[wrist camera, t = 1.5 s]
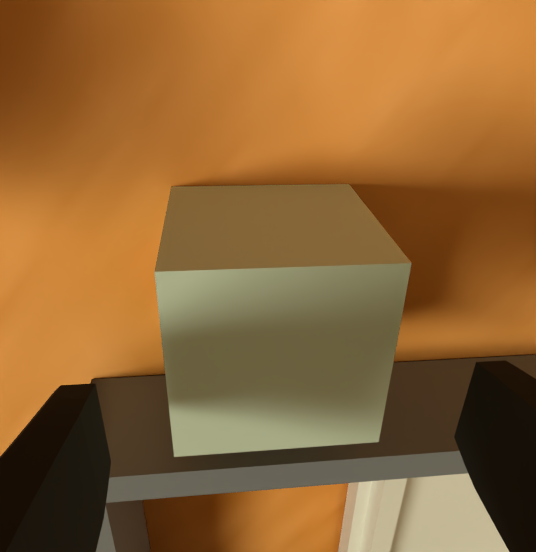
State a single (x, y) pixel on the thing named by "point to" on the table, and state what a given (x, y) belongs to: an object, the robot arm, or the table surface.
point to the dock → (282, 462)
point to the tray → (418, 517)
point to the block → (276, 317)
